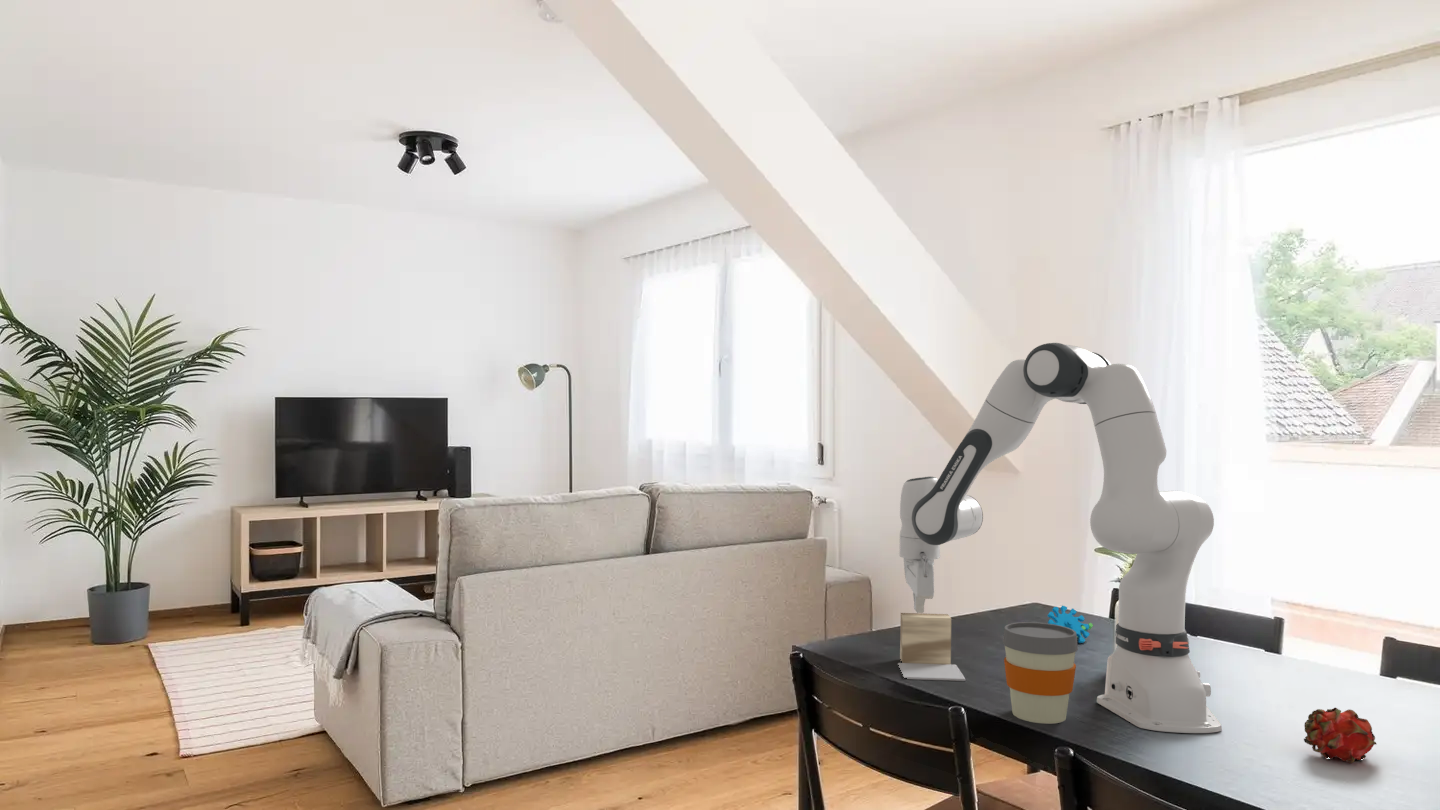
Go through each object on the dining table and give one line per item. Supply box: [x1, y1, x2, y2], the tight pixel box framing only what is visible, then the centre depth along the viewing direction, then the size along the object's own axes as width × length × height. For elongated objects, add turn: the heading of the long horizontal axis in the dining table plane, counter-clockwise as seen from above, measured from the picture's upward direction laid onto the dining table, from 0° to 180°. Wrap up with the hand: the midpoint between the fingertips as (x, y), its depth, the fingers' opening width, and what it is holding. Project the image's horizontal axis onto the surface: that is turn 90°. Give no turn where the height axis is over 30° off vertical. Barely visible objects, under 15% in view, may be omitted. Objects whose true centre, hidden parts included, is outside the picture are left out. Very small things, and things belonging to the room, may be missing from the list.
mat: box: [897, 662, 967, 682], centre depth 194 cm, size 10×12×1 cm
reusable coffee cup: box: [1002, 621, 1079, 725], centre depth 168 cm, size 13×13×15 cm
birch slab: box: [899, 612, 952, 665], centre depth 202 cm, size 4×10×10 cm, turn 86°
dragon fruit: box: [1303, 707, 1377, 764], centre depth 149 cm, size 8×8×12 cm
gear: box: [1047, 604, 1094, 644], centre depth 224 cm, size 11×6×10 cm
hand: (918, 611), depth 212 cm, fingers closed
